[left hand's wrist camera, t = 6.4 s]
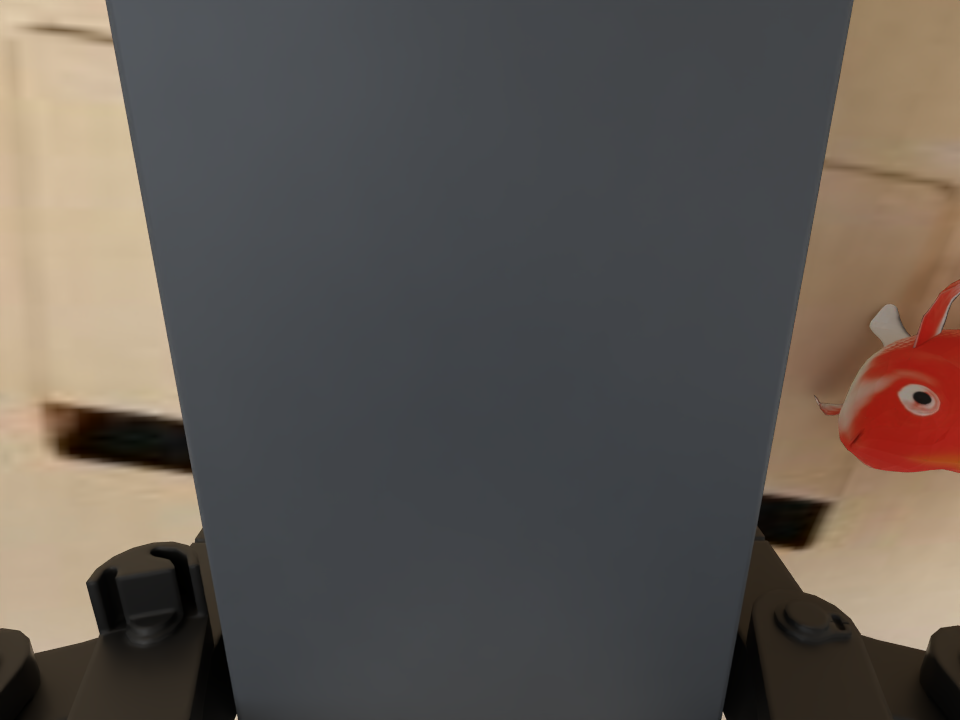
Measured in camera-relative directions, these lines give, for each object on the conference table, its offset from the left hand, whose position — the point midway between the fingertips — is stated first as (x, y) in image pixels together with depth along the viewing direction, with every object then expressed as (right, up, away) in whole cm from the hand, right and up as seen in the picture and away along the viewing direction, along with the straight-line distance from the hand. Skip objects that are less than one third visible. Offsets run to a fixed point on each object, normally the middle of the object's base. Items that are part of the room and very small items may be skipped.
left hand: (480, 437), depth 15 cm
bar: (0, +8, -2) cm, 8 cm away
